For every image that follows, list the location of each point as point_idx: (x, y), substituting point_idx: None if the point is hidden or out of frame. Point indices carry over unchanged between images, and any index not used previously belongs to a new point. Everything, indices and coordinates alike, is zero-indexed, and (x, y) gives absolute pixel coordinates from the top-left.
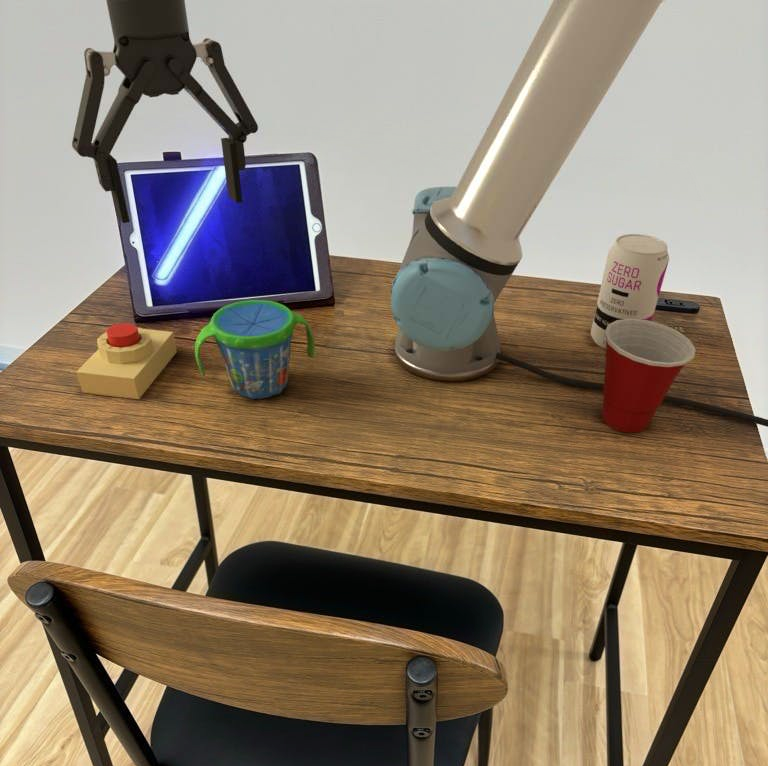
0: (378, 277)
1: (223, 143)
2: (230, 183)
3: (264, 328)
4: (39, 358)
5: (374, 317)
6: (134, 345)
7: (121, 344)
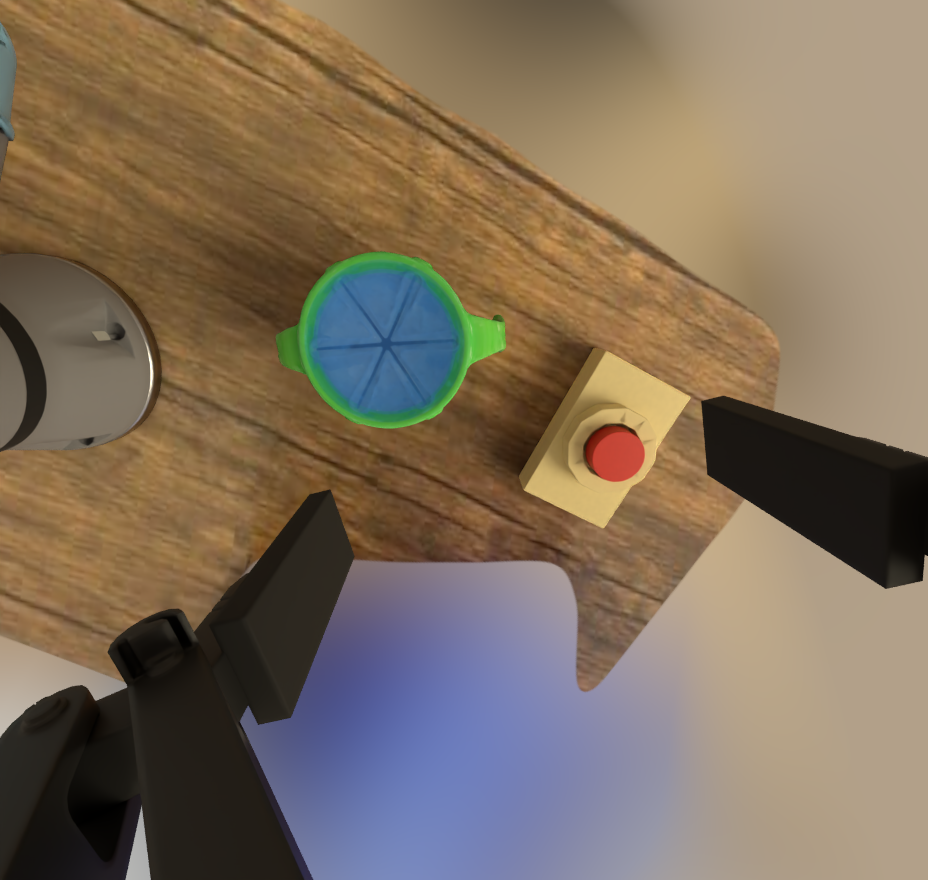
0: None
1: (287, 681)
2: (328, 552)
3: (366, 311)
4: (717, 506)
5: (182, 512)
6: (598, 424)
7: (620, 428)
